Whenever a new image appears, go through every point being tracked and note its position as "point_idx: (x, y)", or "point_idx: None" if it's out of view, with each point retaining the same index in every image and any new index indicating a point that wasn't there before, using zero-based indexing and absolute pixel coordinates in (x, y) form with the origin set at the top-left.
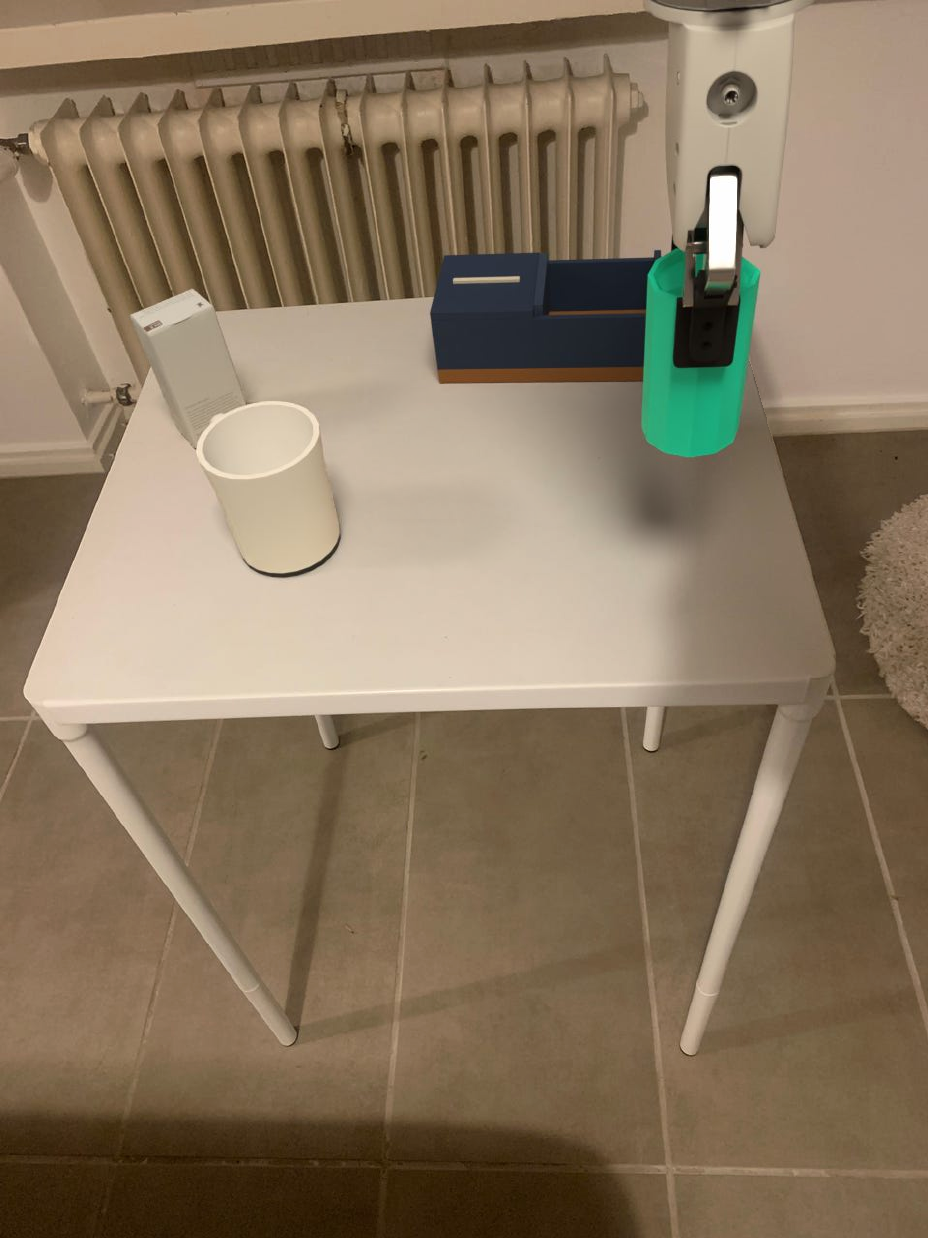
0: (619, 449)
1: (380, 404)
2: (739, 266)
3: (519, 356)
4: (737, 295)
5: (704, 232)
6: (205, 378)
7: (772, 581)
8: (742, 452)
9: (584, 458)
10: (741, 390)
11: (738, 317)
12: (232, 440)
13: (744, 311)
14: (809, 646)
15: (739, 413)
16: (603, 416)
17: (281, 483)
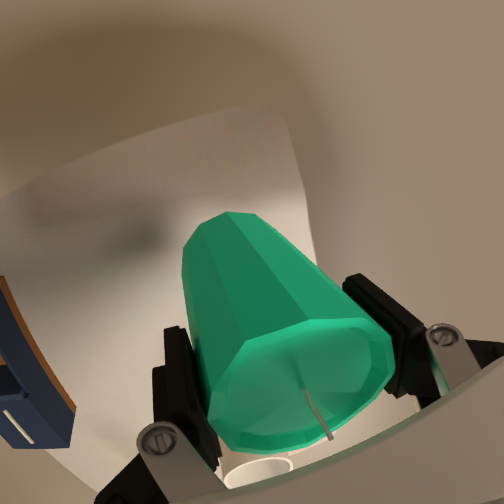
0: (84, 283)
1: (111, 426)
2: (478, 364)
3: (43, 379)
4: (458, 333)
5: (205, 445)
6: None
7: (201, 138)
8: (57, 188)
9: (104, 305)
10: (261, 231)
11: (403, 307)
12: (243, 477)
13: (349, 300)
14: (260, 109)
15: (242, 219)
16: (54, 304)
17: (282, 452)
